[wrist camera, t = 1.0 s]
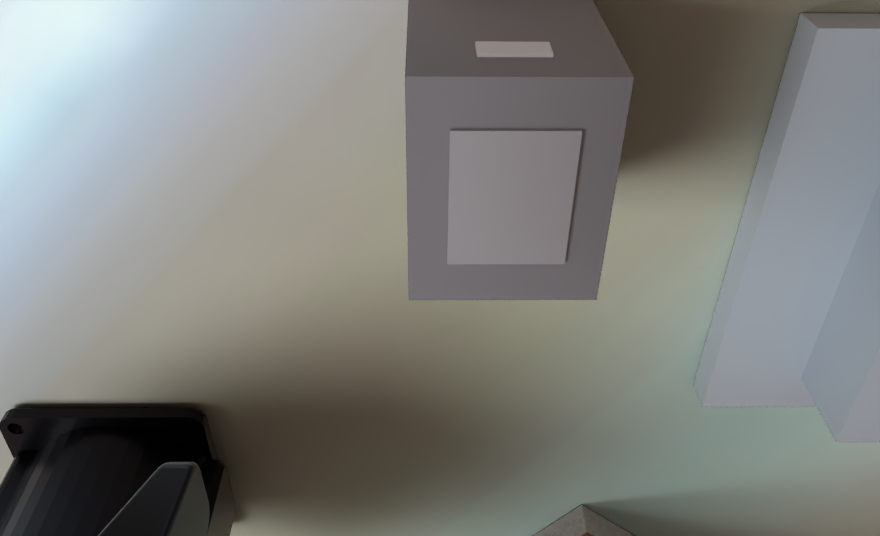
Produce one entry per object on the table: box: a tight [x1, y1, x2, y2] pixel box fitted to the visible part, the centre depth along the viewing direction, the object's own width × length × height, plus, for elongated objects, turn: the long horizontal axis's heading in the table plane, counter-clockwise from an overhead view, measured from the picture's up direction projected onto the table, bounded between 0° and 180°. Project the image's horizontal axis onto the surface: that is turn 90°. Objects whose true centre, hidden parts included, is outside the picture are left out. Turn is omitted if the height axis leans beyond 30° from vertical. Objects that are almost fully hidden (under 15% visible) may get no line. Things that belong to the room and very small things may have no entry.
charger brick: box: [405, 0, 634, 300], centre depth 17 cm, size 4×5×5 cm
